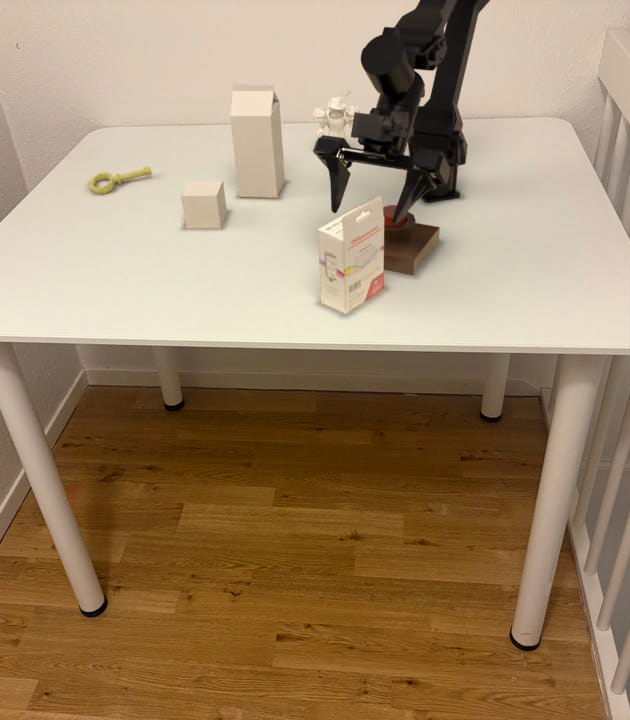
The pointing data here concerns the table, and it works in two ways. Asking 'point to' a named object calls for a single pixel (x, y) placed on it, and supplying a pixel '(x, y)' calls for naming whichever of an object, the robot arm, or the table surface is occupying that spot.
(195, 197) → the cream cube
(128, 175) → the key
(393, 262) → the switch box
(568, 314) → the table surface
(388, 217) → the switch button
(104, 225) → the table surface
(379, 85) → the robot arm
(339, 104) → the blocky character figurine
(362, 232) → the ink cartridge box
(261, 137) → the milk carton
